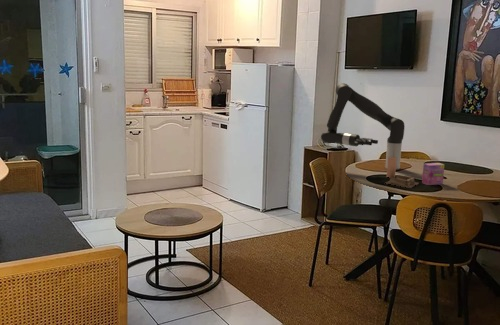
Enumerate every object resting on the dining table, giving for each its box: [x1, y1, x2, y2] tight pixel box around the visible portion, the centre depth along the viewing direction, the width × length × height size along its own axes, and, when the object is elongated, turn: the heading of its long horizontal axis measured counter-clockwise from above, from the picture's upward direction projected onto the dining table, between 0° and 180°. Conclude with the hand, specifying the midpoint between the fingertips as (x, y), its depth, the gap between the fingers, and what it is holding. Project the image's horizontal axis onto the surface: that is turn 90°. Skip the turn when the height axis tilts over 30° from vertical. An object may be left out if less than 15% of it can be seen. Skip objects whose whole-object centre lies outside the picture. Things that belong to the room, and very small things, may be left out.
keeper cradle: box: [385, 174, 420, 189], centre depth 287 cm, size 14×15×4 cm
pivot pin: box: [386, 157, 397, 179], centre depth 303 cm, size 5×5×12 cm
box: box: [421, 162, 446, 186], centre depth 288 cm, size 10×6×12 cm, turn 105°
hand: (374, 142), depth 307 cm, fingers open, 8 cm apart
